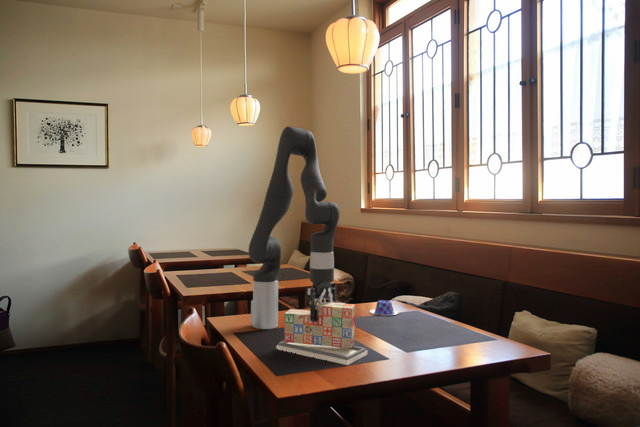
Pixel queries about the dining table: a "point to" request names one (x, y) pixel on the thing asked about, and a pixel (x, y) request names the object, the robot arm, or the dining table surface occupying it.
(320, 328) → the stack of blocks
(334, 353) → the base board
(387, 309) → the blue checkered hat
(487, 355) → the dining table surface
